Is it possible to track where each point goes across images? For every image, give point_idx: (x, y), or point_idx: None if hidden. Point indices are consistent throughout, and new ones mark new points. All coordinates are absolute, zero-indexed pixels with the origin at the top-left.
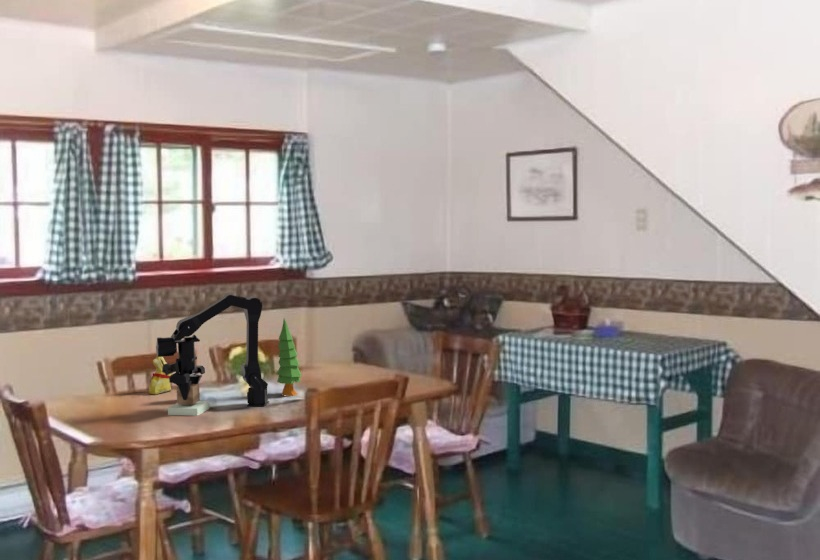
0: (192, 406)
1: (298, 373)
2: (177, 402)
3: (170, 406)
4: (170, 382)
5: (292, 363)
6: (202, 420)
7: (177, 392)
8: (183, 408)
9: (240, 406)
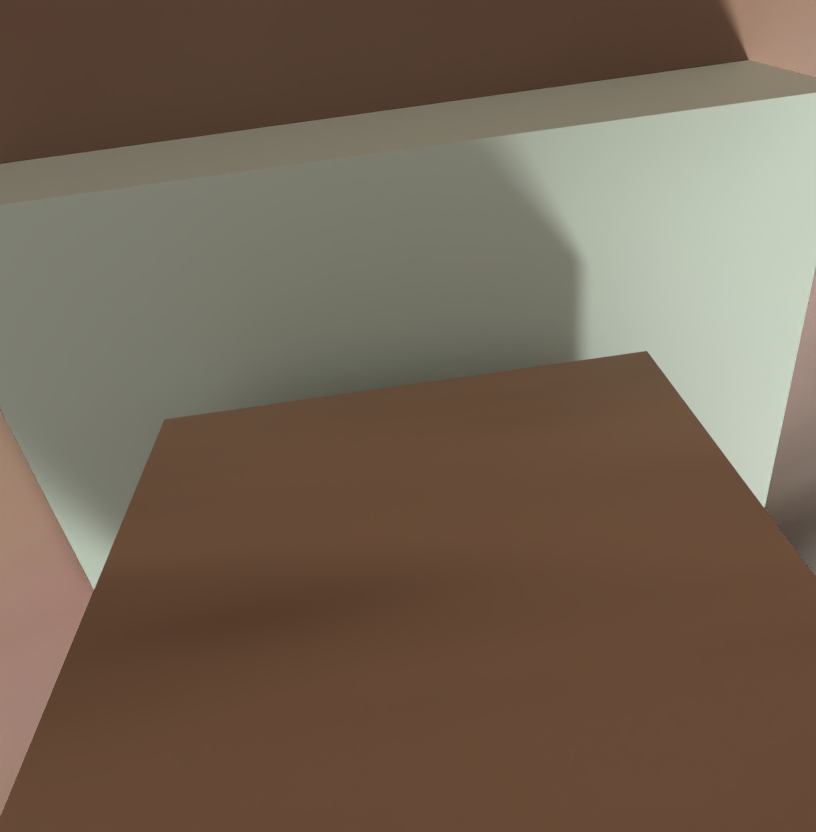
0: None
1: None
2: (159, 445)
3: (93, 197)
4: None
5: None
6: (6, 793)
7: (54, 736)
8: (89, 574)
9: None
